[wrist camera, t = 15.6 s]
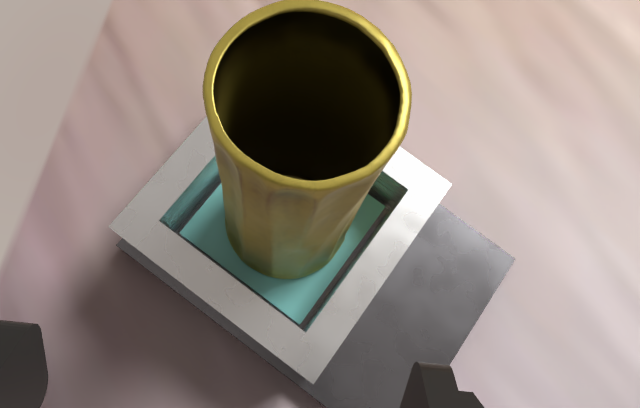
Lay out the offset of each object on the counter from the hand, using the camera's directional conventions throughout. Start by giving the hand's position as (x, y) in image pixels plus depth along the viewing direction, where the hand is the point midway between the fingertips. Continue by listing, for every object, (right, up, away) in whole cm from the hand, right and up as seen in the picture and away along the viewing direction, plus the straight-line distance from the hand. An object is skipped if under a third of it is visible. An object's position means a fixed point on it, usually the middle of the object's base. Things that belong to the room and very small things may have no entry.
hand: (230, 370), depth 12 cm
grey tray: (+2, +1, +17) cm, 17 cm away
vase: (0, +3, +15) cm, 16 cm away
